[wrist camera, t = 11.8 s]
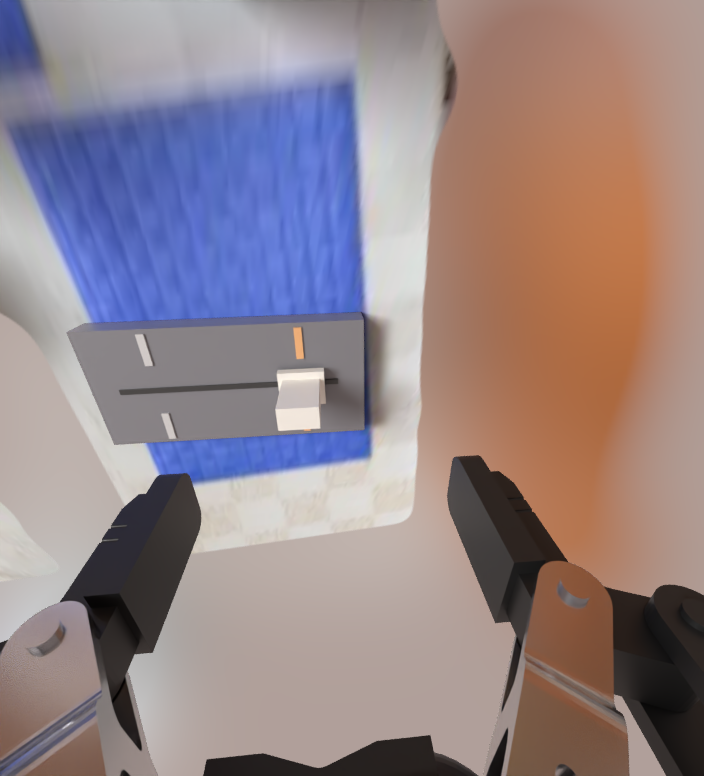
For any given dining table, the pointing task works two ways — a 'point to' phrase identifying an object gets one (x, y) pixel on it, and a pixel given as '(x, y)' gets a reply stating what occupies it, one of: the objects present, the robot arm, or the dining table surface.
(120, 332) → the fader console
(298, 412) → the fader tab
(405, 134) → the dining table surface
